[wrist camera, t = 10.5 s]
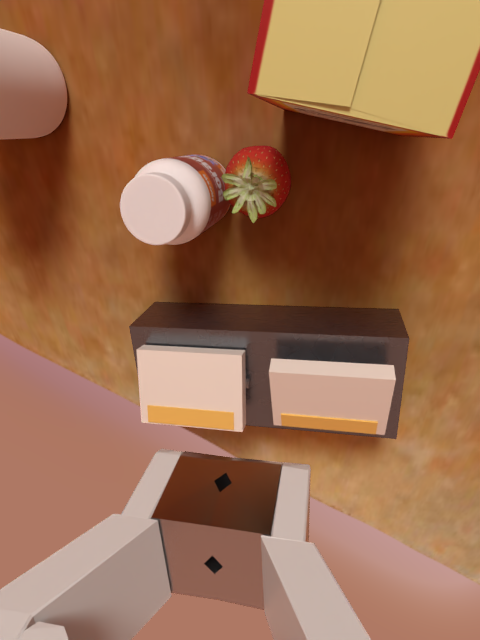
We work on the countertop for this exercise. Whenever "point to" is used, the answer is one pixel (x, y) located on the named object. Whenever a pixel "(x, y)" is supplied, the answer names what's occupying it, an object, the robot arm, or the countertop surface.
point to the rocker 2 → (331, 395)
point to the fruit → (257, 181)
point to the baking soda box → (370, 61)
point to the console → (282, 343)
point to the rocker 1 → (192, 387)
